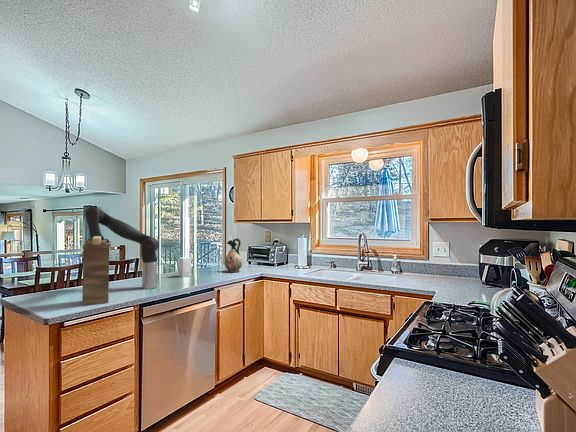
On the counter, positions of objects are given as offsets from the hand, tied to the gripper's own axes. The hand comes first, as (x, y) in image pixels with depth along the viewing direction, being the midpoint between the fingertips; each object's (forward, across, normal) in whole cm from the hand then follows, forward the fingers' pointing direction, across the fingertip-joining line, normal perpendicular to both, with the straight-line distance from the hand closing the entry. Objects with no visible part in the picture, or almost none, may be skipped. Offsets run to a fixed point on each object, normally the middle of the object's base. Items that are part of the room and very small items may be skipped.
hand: (97, 237), depth 187 cm
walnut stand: (-10, 0, +35) cm, 36 cm away
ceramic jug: (-70, +104, 0) cm, 125 cm away
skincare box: (-65, +60, +4) cm, 88 cm away
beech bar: (+3, 0, +6) cm, 6 cm away
